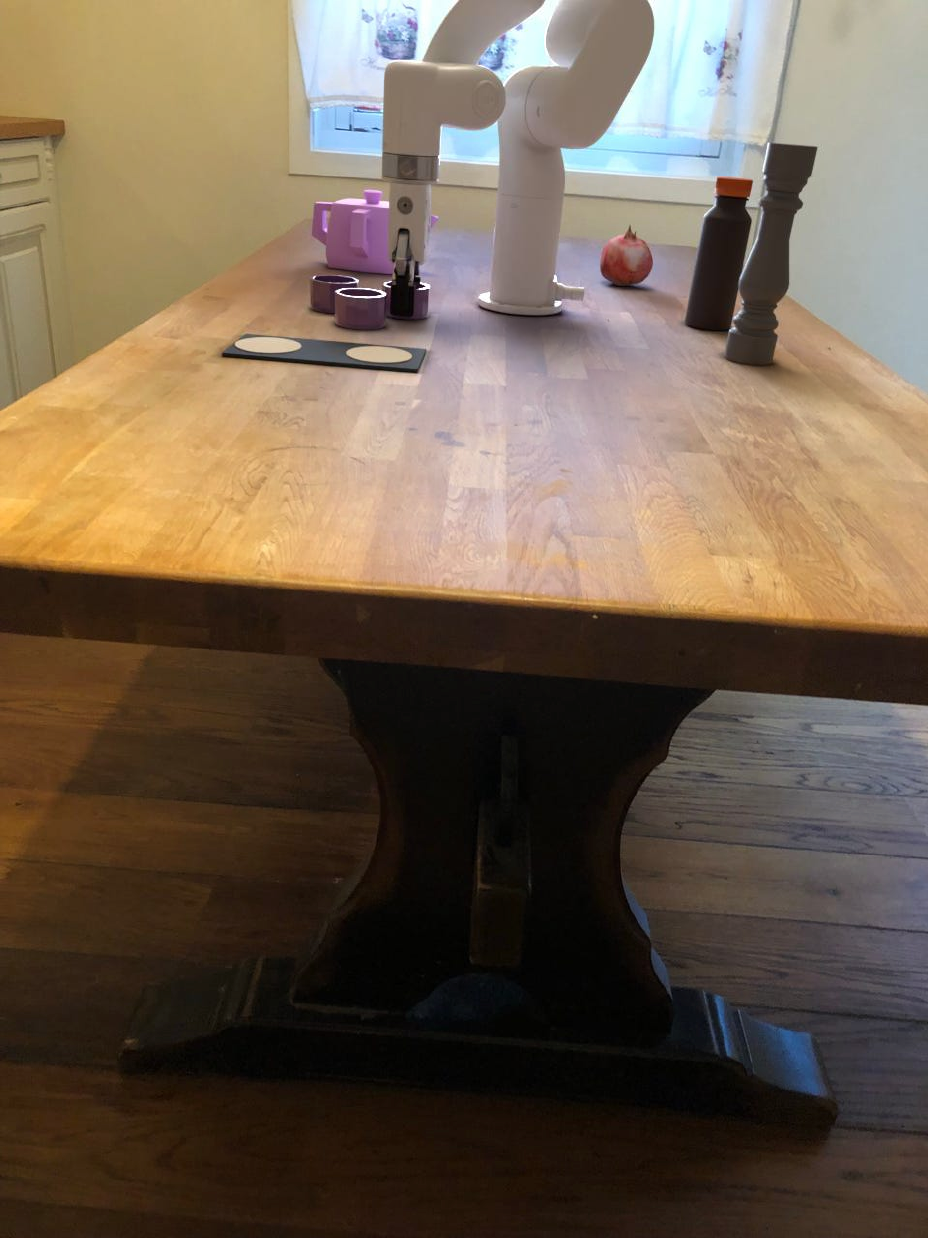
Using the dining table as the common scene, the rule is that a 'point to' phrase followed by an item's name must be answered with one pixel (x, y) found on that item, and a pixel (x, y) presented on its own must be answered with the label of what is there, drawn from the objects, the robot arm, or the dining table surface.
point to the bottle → (720, 256)
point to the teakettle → (356, 233)
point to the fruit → (626, 260)
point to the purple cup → (328, 290)
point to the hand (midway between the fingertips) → (405, 309)
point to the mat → (327, 352)
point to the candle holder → (769, 255)
